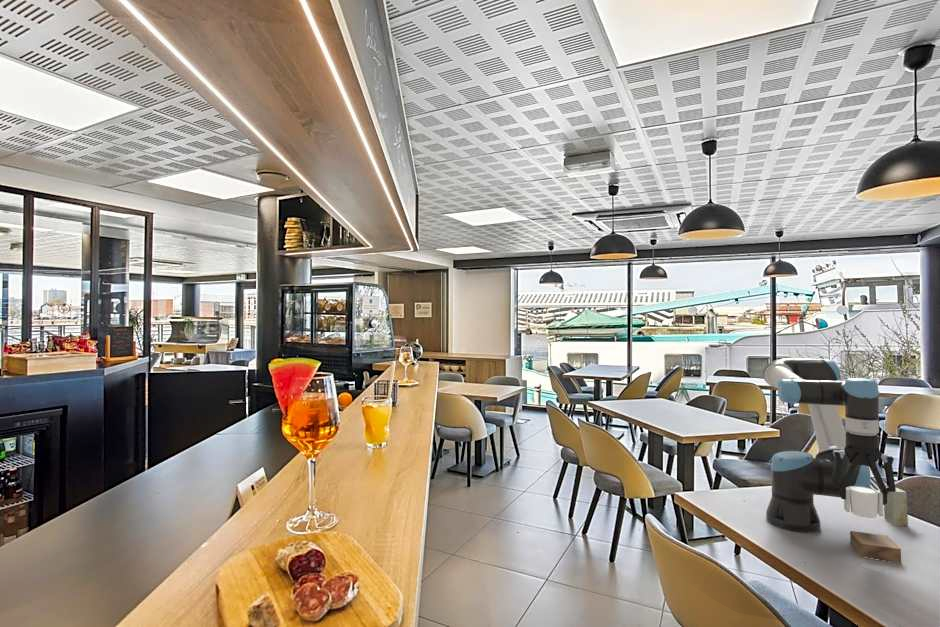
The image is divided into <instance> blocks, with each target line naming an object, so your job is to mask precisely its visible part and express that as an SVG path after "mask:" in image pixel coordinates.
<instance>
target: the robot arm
mask: <svg viewBox="0 0 940 627" xmlns="http://www.w3.org/2000/svg"><path fill="white" fill-rule="evenodd" d="M841 376H842V374H841V370H840V368H839V366H838V364H837V363H836V362H835V361H834V360H832V359H827V358H820V357H818V358H802V357H801V358H800V357H799V358H795V357H794V358H792V357H785V358H782V357H781V358H778V359H775V360H773V361H770V362H768V364H767V365H766V366H765V367H764V368H763V371H762V377H763V379H764V382H765V383H767V385H769V386H770V387H771V388H775V389H777V395H778V399H779V400H780V402H781V403H786V404H787V403H788V404H792V405H793V404H794V405H795V404H802V405H803V404H804V405H805V404H806V405H807V407H808V410H809V412H810V417H811V418H810V419H811V423H812V427H813V431H814V434H815V435H814V436H815V439H816V444H817V447H818V452H817V453H816V454H815V455H814V456H815V457H814V456H813V455H812V453H809V452H806V451H799V450H786V451H779V452H776V453H774V454H773V455H772V457H771V464H770V470H771V497H770V501H769V503H768V506H767V509H766V512H765V517H766V520H767V521H768V523H770V524H771V525H773V526H776V527H779V528H781V529H784V530H788V531H793V532H796V533H797V532H798V533H816V532H819V531H821V520H820V517H819V514H818V511H817V508H816V506H815V504H814V503H815V502H814V496H826V497H832V498H833V497H834V498H840V499H841V500H843V509H844V510H845V512H846V513H851V506H850V490H849V488H848V487H849V486H861V487H867V488H871V481H872V480H871V479H872V478H871V474H872V475H873V479H874V480H875V482H876V485H877V487H878V489H879V490H878V489H875V490H876V491H878V505H877V515H878V516H879V517H883V518H884V504H887V494H888V493H889V492H895V491H896V488H897V487H896V483H895V482H896V481H895V475H894V470H893V463H894V460H895V458H894V457H893V456H892V455H891V454H884V453H882V452H881V451H880V436H879V433H880V426H879V425H880V424H879V420H880V418H879V416H880V415H879V414H880V413H879V410H880V409H879V401H880V400H879V395H880V391H879V384H878V381H876V380H875V379H871V378H870V379H869V378H865V377H864V378H863V377H850V378H849V377H848V378H846V379H842V377H841ZM839 406H843V407H844V412H845V418H844V419H845V422H844V423H845V424H844V423H843V420H842V417H841V413H840V409H839ZM844 425H845V427H844ZM880 459H881V461H882V462H883V467H884V468H883V469H884V473H885V474H884V475H885V480H886V484H885V481H884V480H883V478H882V476H881V473H880V472H879V468H878V466H877V464H876V462H878V461H879V460H880Z"/></svg>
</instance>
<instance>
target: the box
mask: <svg viewBox="0 0 940 627" xmlns="http://www.w3.org/2000/svg"><path fill="white" fill-rule="evenodd" d="M895 488H896V491H895V492H889V493H888V494H887V504H883V519H884V520H885V519H886V520H887V521H886V520H885V521H886V522H888V521H889V522H888V523H890V524H891V523H892V525H893V524H896V525H895V526H904V525H907V526H909V518H908V497H907V496H908V495H907V492H906V491H905V490H902V489H900V488H898V487H895ZM907 526H906V527H907Z"/></svg>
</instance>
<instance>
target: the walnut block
mask: <svg viewBox="0 0 940 627" xmlns="http://www.w3.org/2000/svg"><path fill="white" fill-rule="evenodd" d="M849 534H850V535H849V537H850V539H849V540H850V544H849V545H850V546H851V547H852V546H853V547H854V548H853V547H852V548H853V550H854V551H855V552H856V551H857V552H858V553H859V554H860V555H859V554H858V553H857V552H856V553H857V554H858V555H859V557H860V558H861V557H867V558H873V559H872V560H874V559H879V560H878V561H881V560H885V561H884V562H888V561H891V562H890V563H895V562H896V564H902V549H901V547H899V545H897V544H896V543H895V541H894V540H892V538H890V537H889V536H888V535H885V534H877V533H871V532H870V533H869V532H863V531H862V532H861V531H853V530H850V532H849ZM867 558H866V559H867Z"/></svg>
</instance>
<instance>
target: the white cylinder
mask: <svg viewBox="0 0 940 627" xmlns="http://www.w3.org/2000/svg"><path fill="white" fill-rule="evenodd" d="M848 488H849V490H850V513H852V514H853V515H855V516H857V517H861V518H867V519H874V518H876V517H877V515H878V514H877V505H878V491H876V490H877V489H873V488H871V487H870V488H867V487H861V486H849V487H848Z"/></svg>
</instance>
